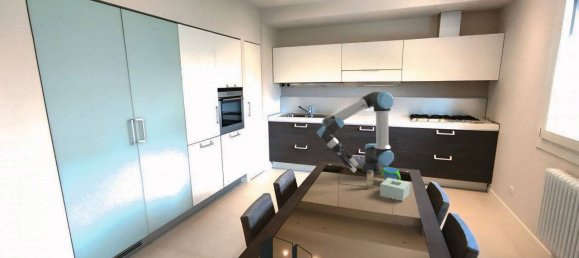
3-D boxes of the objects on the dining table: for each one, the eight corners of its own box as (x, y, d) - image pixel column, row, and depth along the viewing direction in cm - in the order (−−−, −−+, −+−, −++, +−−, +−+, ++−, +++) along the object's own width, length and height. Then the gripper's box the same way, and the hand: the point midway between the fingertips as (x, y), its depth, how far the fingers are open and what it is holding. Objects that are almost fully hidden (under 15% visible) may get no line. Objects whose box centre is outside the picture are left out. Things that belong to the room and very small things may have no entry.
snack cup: (404, 185, 180) (405, 171, 178) (392, 188, 176) (393, 173, 174) (387, 178, 194) (388, 165, 193) (376, 180, 190) (377, 167, 189)
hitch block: (387, 188, 175) (387, 177, 173) (409, 194, 166) (410, 182, 165) (379, 195, 164) (380, 183, 163) (402, 201, 155) (403, 189, 154)
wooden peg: (367, 186, 179) (368, 169, 177) (373, 187, 177) (374, 171, 175) (365, 188, 176) (366, 171, 174) (371, 189, 173) (372, 172, 171)
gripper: (334, 144, 192) (353, 166, 190) (327, 153, 169) (349, 177, 166) (341, 138, 189) (361, 159, 187) (335, 145, 166) (358, 170, 164)
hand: (356, 168), depth 177 cm, fingers open, 13 cm apart
